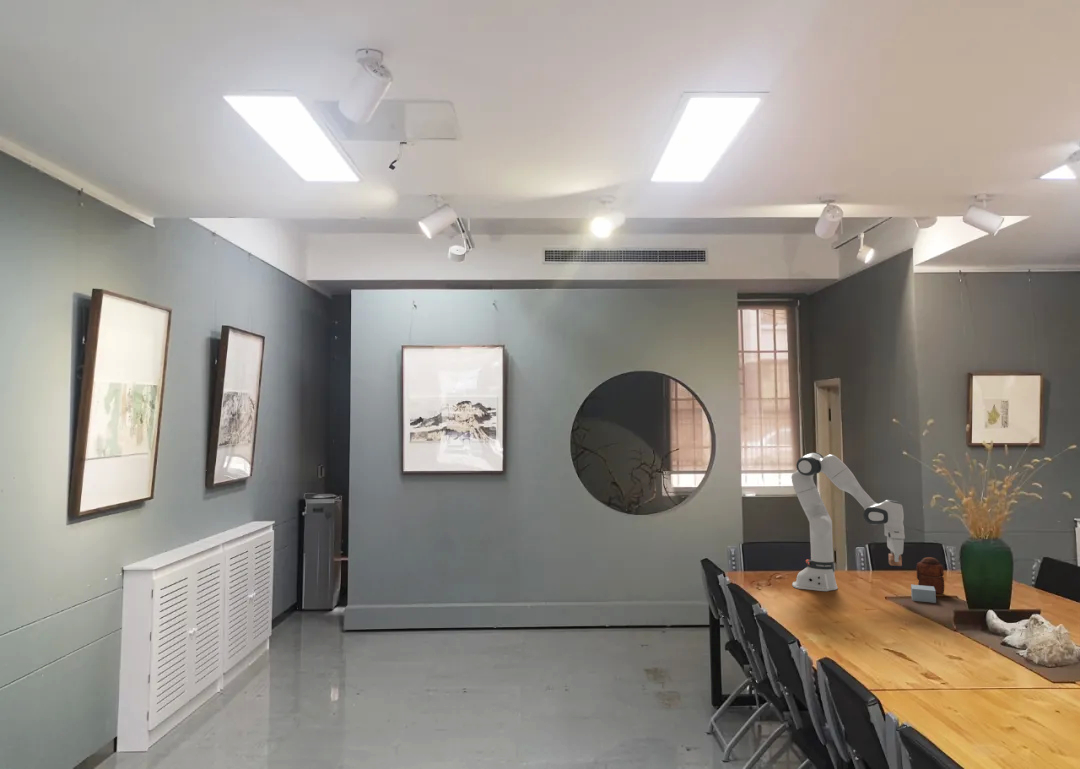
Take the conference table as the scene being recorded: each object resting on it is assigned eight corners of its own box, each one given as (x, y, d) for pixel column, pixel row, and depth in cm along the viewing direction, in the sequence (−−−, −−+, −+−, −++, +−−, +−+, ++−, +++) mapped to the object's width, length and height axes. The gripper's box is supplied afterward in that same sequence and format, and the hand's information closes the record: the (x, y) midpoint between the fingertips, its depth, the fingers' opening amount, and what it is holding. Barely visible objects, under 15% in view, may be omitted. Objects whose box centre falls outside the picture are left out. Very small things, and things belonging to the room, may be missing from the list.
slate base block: (912, 601, 325) (912, 588, 325) (911, 596, 333) (910, 584, 334) (936, 603, 320) (935, 590, 320) (934, 598, 329) (933, 586, 329)
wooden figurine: (941, 591, 342) (940, 556, 343) (945, 594, 336) (943, 558, 337) (916, 590, 346) (914, 555, 347) (919, 593, 340) (917, 557, 341)
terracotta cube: (890, 565, 329) (890, 555, 330) (888, 563, 334) (888, 553, 334) (901, 566, 328) (901, 555, 328) (899, 564, 332) (899, 554, 333)
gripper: (883, 529, 343) (884, 556, 342) (891, 535, 323) (892, 563, 322) (896, 530, 341) (897, 557, 340) (905, 536, 321) (906, 564, 320)
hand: (895, 560), depth 331 cm, fingers closed on terracotta cube, 5 cm apart
